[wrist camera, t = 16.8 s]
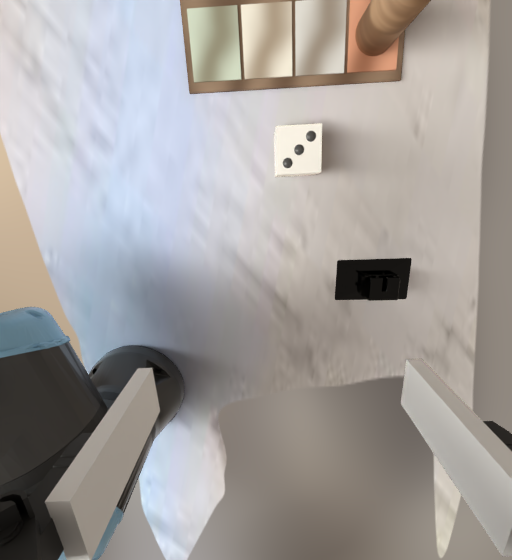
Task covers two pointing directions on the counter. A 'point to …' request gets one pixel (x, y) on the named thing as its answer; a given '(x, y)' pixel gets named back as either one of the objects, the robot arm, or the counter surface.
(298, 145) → the die
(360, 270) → the black piece
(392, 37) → the wooden domed cylinder
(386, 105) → the counter surface
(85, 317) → the counter surface
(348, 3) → the game board
